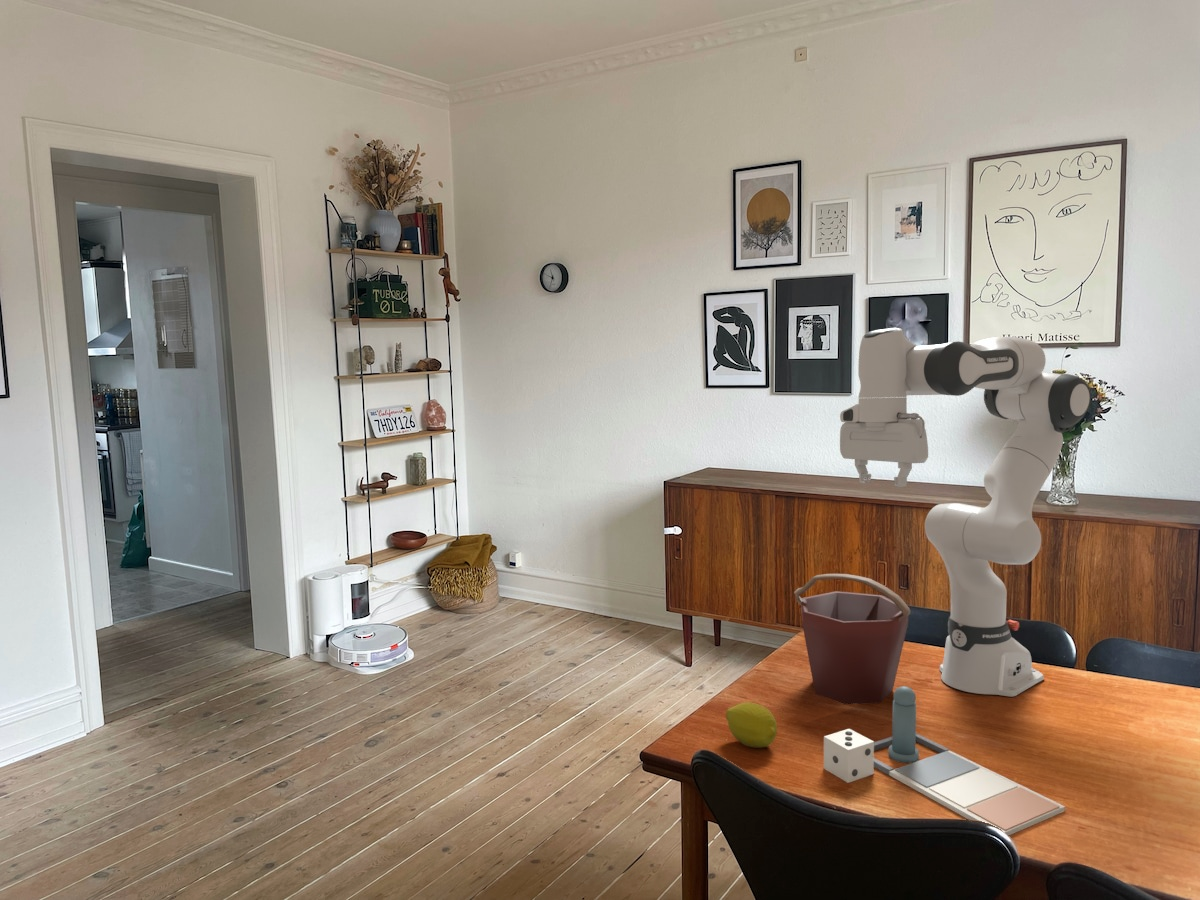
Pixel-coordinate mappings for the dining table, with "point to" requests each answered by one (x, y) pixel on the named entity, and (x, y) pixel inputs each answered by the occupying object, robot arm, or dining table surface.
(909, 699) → the pawn
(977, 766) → the game board
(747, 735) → the lemon
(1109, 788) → the dining table surface
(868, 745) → the die
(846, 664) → the bucket
